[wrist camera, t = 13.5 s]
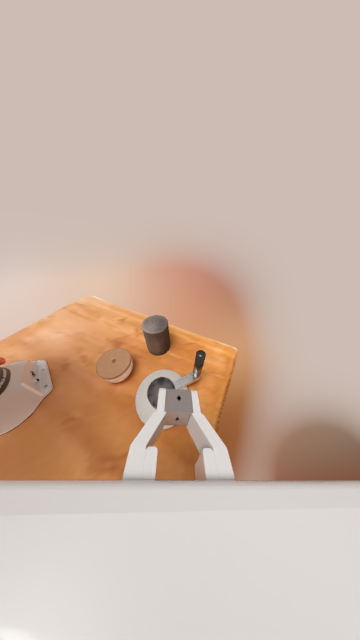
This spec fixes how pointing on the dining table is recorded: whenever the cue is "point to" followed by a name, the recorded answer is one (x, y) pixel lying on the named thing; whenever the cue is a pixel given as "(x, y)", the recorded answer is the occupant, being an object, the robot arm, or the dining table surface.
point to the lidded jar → (115, 365)
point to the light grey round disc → (141, 399)
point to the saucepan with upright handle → (178, 384)
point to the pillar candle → (156, 334)
